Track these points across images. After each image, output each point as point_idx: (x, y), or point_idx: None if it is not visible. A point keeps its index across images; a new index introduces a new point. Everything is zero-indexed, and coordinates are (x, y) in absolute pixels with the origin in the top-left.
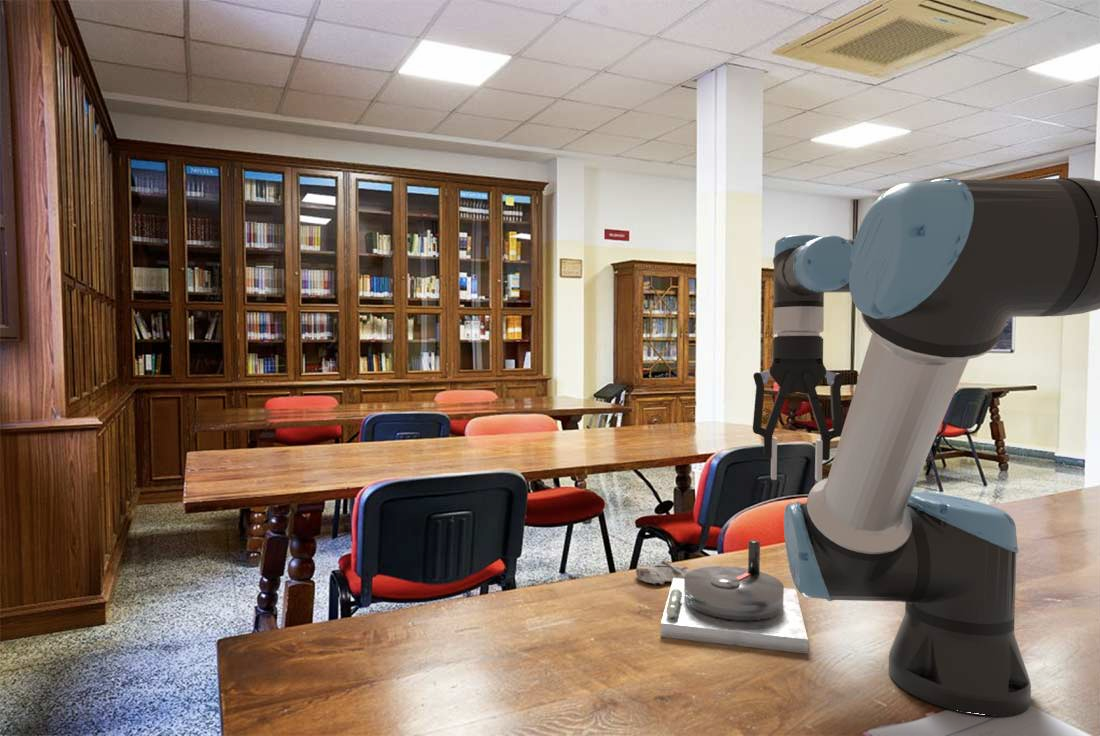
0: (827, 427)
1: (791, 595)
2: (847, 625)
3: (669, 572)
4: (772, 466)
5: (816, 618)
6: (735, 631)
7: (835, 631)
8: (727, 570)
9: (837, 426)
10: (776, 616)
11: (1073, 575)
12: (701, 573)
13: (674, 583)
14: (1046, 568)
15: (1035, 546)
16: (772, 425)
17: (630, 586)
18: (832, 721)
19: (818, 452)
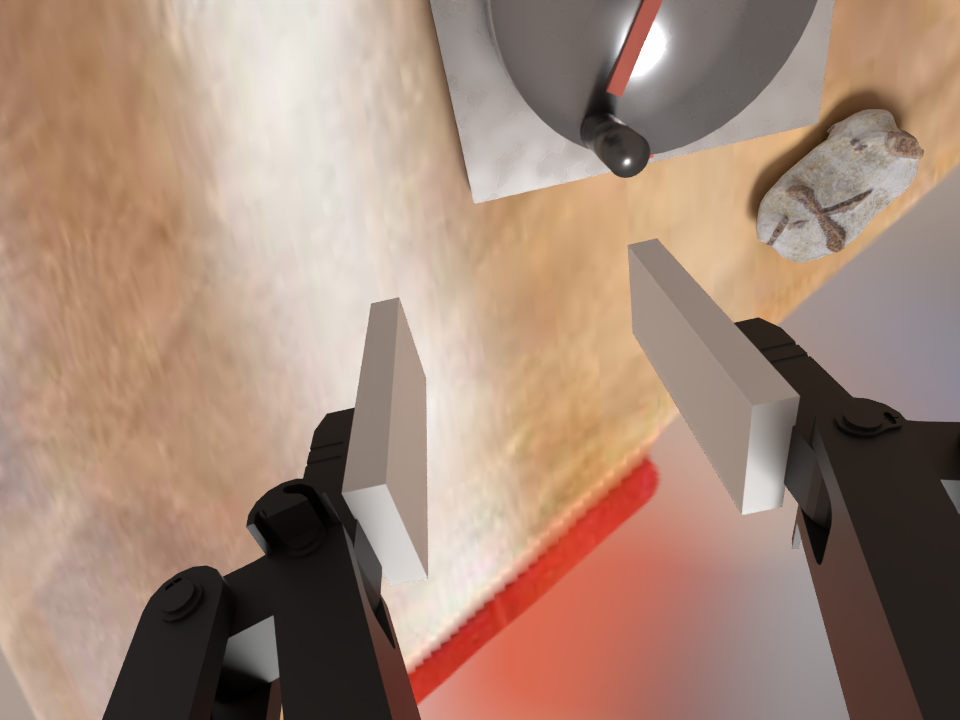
0: (278, 633)
1: (478, 144)
2: (316, 75)
3: (821, 183)
4: (685, 277)
5: (401, 87)
6: None
7: (335, 4)
8: (681, 103)
9: (170, 668)
10: None
11: (8, 602)
12: (769, 20)
13: (817, 70)
14: (60, 614)
15: None
16: (892, 508)
17: (924, 76)
18: None
19: (382, 415)
